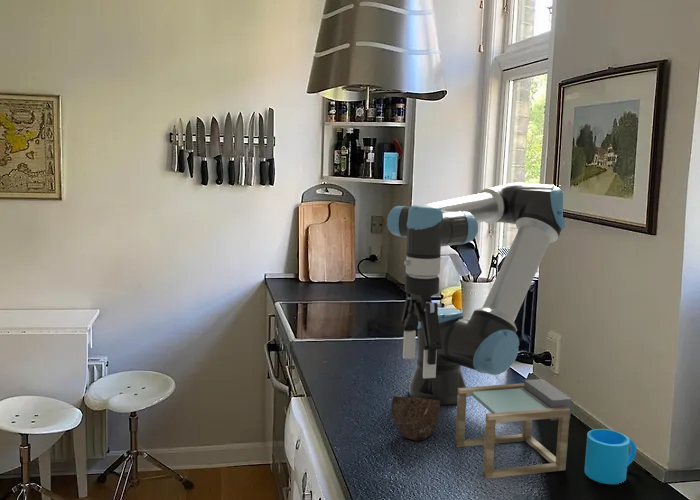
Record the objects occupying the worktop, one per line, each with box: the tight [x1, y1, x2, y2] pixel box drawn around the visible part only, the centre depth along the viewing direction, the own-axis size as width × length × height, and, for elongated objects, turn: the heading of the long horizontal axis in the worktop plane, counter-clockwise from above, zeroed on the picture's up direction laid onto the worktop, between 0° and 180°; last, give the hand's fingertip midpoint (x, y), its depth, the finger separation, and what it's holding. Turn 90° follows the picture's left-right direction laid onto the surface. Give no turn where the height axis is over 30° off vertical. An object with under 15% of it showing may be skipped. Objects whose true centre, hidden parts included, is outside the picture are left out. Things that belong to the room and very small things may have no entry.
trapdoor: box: [471, 378, 573, 422], centre depth 147 cm, size 12×17×4 cm
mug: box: [584, 428, 637, 485], centre depth 142 cm, size 12×8×8 cm
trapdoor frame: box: [454, 382, 571, 479], centre depth 148 cm, size 16×18×13 cm
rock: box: [390, 395, 441, 442], centre depth 157 cm, size 12×10×10 cm
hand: (418, 367), depth 155 cm, fingers open, 13 cm apart
